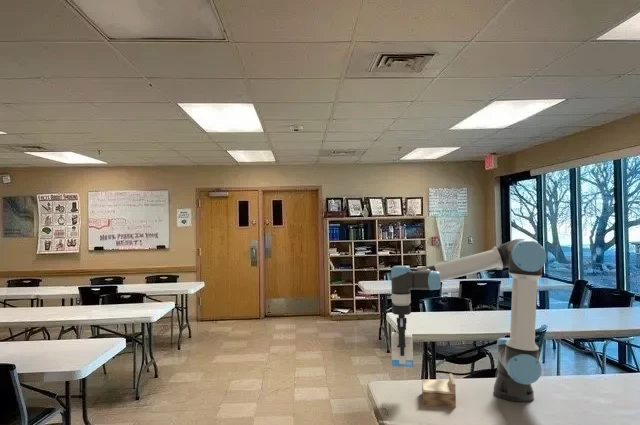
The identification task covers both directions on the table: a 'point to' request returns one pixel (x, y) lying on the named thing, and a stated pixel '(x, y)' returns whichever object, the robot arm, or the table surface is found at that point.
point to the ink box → (396, 349)
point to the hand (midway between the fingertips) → (402, 359)
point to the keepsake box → (439, 399)
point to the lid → (439, 386)
